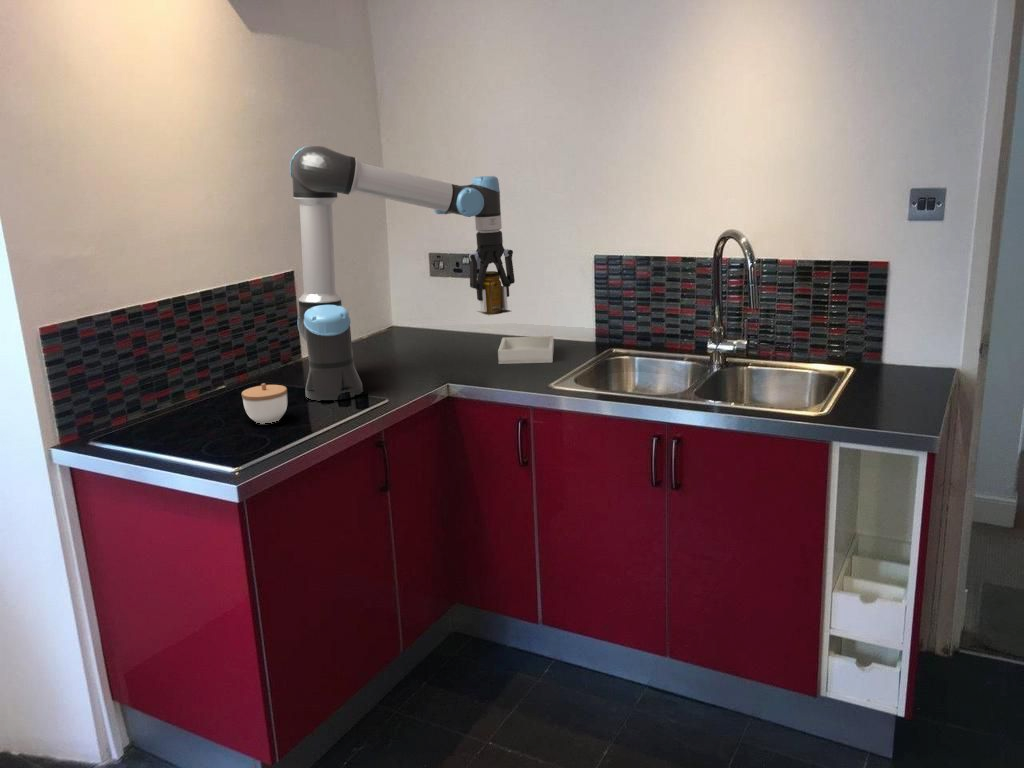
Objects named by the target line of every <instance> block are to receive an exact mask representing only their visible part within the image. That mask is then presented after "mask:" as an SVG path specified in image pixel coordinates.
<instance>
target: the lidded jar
mask: <svg viewBox="0 0 1024 768" xmlns="http://www.w3.org/2000/svg"><path fill="white" fill-rule="evenodd" d="M241 398H242V403H243V408H244V410H245V413H246V414H247V416H248V417H249V418H250V419H251V420H252V421H254V422H256V423H255V424H257V423H260V424H259V425H266V424H265V423H271V424H273V423H272V422H275V423H277V422H276V421H278V422H280V421H281V420H280V419H281V418H283V416H284V415H285V414H286V411H287V407H288V388H287V386H284V385H280V384H266V382H265V383H261V384H260V385H256V386H252V387H249V388H247V389H244V390H243V391H242V392H241ZM279 420H280V421H279Z"/></svg>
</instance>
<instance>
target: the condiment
mask: <svg viewBox="0 0 1024 768" xmlns="http://www.w3.org/2000/svg"><path fill="white" fill-rule="evenodd" d="M501 286H502V282H501V279H500V276H499V272H498V271H497V270H493V271H492V270H490V271H489V270H487V271H486V276H485V280H484V285H483V289H484V290H485V292H486V307H487V312H483V311H481V310H477V312H478V313H480V314H481V315H482V314H483V315H485V316H486V315H487V316H495V315H500V314H504V313H509V312H511V310H510V309H504V308H502V293H501Z"/></svg>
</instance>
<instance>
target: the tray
mask: <svg viewBox="0 0 1024 768" xmlns="http://www.w3.org/2000/svg"><path fill="white" fill-rule="evenodd" d="M554 340H555V339H554V336H553V335H552V336H551V335H546V336H545V335H543V336H542V335H541V336H515V337H502V338H501V342H500V344H499V347H498V350H497V357H498V365H501V364H502V365H503V364H504V365H505V364H506V365H507V364H509V365H511V364H539V363H542V364H543V363H544V364H545V363H553V362H554V351H555V345H554V342H555V341H554Z"/></svg>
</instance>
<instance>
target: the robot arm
mask: <svg viewBox="0 0 1024 768" xmlns="http://www.w3.org/2000/svg"><path fill="white" fill-rule="evenodd" d="M289 173H290V177H291V179H292V191H293V192H292V195H293V199H294V200H295V201H296V202H297V203H298V205H299V218H300V219H299V221H300V238H301V239H300V241H301V242H300V243H301V259H302V260H301V263H302V279H303V280H302V285H303V294H302V295H301V296H299V298H298V316H297V323H296V324H297V329H298V331H299V334H300V336H301V338H303V340H305V342H306V348H307V349H306V350H307V357H308V364H309V365H308V366H309V371H308V375H307V379H306V385H305V391H304V392H305V398H306V397H307V398H309V399H311V400H317V401H319V400H336V399H337V398H338V396H339V395H340V394H341V393H345V392H350V393H351V394H352V395H353V394H354V393H360V392H364V389H363V382H362V380H361V378H360V376H359V374H358V371H357V369H356V367H355V362H354V353H353V352H354V351H353V343H352V333H351V330H352V329H351V318H350V314H349V311H348V310H347V309H346V308H345V307H343V306H342V297H341V296H340V295H339V294H338V293H337V292H336V276H335V275H336V273H335V271H336V270H335V268H336V267H335V247H334V220H333V218H334V216H333V204H334V203H335V202H336V201H337V199H338V194H343V195H347V196H348V195H349V196H350V195H352V194H353V193H356V194H357V193H358V194H362V195H367V196H371V197H377V198H380V199H385V200H390V201H395V202H400V203H404V204H407V205H408V204H409V205H413V206H414V205H415V206H418V207H422V208H423V207H424V208H427V209H431V210H433V211H434V213H435V214H436V215H448V214H449V215H450V214H454V215H459V216H463V217H466V218H467V217H468V218H471V217H472V218H473V217H474V220H475V222H474V223H475V230H476V234H475V235H476V246H477V249H476V251H475V252H473V253H469V254H468V255H467V258H468V261H469V288H472V289H475V290H476V297H477V298H476V299H477V301H479V304H480V311H483V312H487V307H486V292H485V290H484V289H483V285H484V280H485V276H486V272H487V271H488V267H489V265H490V264H494V265H495V267H496V272H499V277H500V279H499V280H500V281H501V293H502V308H504V309H507V310H509V309H508V308H509V307H508V298H509V297H510V287H511V285H512V284H514V283H516V281H515V273H514V272H515V271H514V265H513V264H514V263H513V254H514V251H513V249H508V248H507V249H506V248H505V247H504V246H503V241H504V239H503V232H502V230H501V229H502V228H503V227H502V213H501V211H502V210H501V194H500V193H501V191H500V183H499V179H498V177H497V176H495V175H485V176H475V177H473V178H472V182H471V184H467V185H466V184H465V185H459V184H454V183H451V182H445V181H441V180H436V179H432V178H428V177H423V176H420V175H414V174H410V173H407V172H401V171H398V170H393V169H390V168H384V167H379V166H375V165H371V164H366V163H362V162H359V160H358V158H357V157H354V156H350V155H347V154H344V153H340V152H338V151H335V150H333V149H331V148H328V147H325V146H322V145H309V146H308V145H307V146H304V147H301V148H300V149H298V150H297V151H296V152H295V154H293V156H292V157H291V160H290V163H289ZM503 256H504V263H505V269H504V266H503V260H502V257H503ZM478 258H479V259H480V261H479V262H480V263H479V270H478V263H477V261H478ZM307 398H306V399H307ZM311 400H310V401H311ZM317 401H316V402H317Z"/></svg>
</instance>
